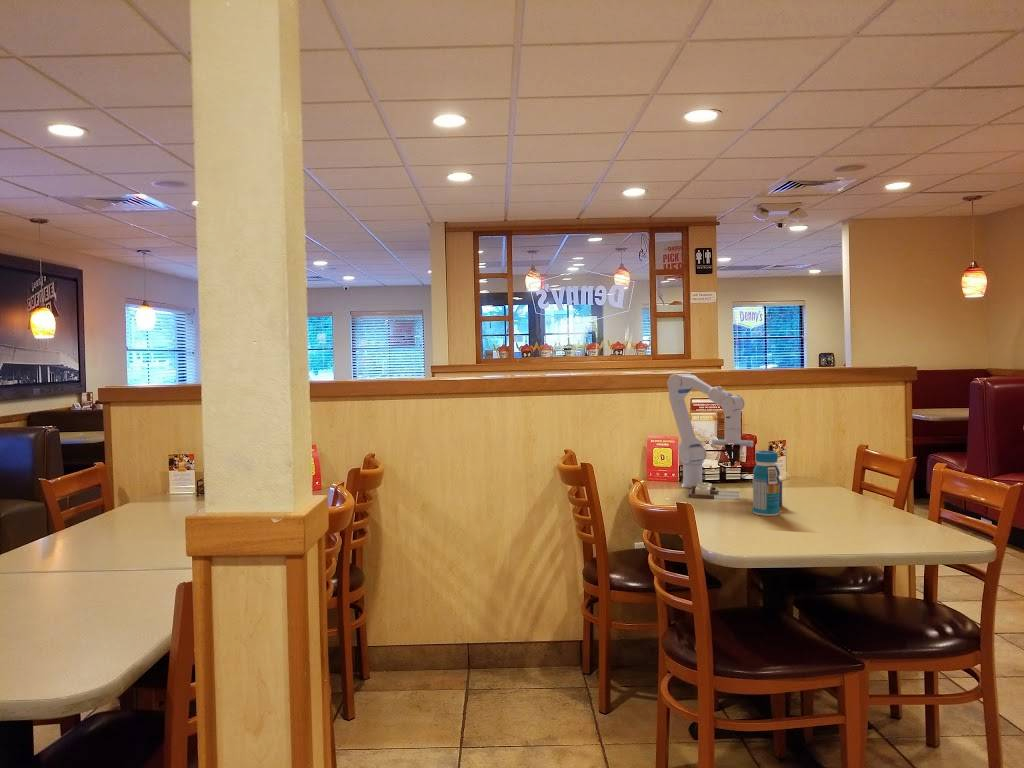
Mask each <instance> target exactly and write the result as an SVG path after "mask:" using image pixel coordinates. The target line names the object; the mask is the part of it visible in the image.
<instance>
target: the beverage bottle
mask: <svg viewBox="0 0 1024 768" xmlns="http://www.w3.org/2000/svg"><path fill="white" fill-rule="evenodd" d="M754 454H755V457H754V459H755V463H757V464H756V465H755V466H754V468H753V470H752V474H753V477H752V480H751V481H752V505H753V506H752V513H753V514H755V515H757V516H763V517H775V516H779V515H780V506H779V487H780V480H781V479H780V474H781V473H780V469H779V468H778V466H777V465H776V464H777V463H778V459H779V458H778V452H777V451H773V450H758V451H755V453H754Z"/></svg>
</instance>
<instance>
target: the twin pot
mask: <svg viewBox="0 0 1024 768" xmlns="http://www.w3.org/2000/svg"><path fill="white" fill-rule="evenodd" d="M699 486H706V487H710V490H712V487H713V486H712V482H711V483H710V482H703V481H702V483H698V484H697V487H699Z"/></svg>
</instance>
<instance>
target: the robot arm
mask: <svg viewBox="0 0 1024 768" xmlns="http://www.w3.org/2000/svg"><path fill="white" fill-rule="evenodd" d="M666 385H667V389H668V399H669V403H670V407H671V410H672V413H673V417H674V421H675V423H676V427H677V429H678V433H679V437H680V440H681V441H680V443H679V444H678V446H677V448H678V457H679V460H680V462H681V464H682V470H683V471H682V484H681V488H686V489H687V488H690V489H691V487H692V486H697V484H698V483H702V482H703V464H704V461H705V460H706V458H707V454H708V453H707V450H706V448H705V447H704V446H703V444H702V441H701V440H699V438H697V437H696V435H695V431H694V428H693V424H692V421H691V418H690V414H689V411H688V407H687V404H686V402H685V398H686V397H687V396H688V394H689V393H690V392H691V391H692V390H697V391H698V392H700V393H702V394H705V395H707V397H708V400H709V401H711V402H713V403H715V404H716V405H718V406H720V407H721V409H722V411H723V415H724V439H711V445H712V446H724V448H725V451H726V454H727V456H728V459H729V464H730V467H731V466H732V467H735V463H736V459H737V456H738V453H739V451H740V449H741V447H751V448H752V447H754V440H747V439H746V440H745V439H742V438H741V437H742V430H741V429H742V410H743V409H744V407H745V400H744V398H743V397H742V396H740V394H735V395H734V394H733V393H732V392H731V391H726V390H725V389H723V387H722V386H720V385H719V386H714V387H713V386H711V385H710V384H708V383H706V382H705V381H704V380H702V379H700V378H699V377H697V376H696V375H694V374H692V373H678V374H677V373H673V374H671V375H670V376H669V378H668V379H667V382H666Z"/></svg>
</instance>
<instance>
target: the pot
mask: <svg viewBox="0 0 1024 768" xmlns="http://www.w3.org/2000/svg"><path fill="white" fill-rule="evenodd" d="M695 494H705V495H710V487H706V486H699V487H696V488H695Z"/></svg>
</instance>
